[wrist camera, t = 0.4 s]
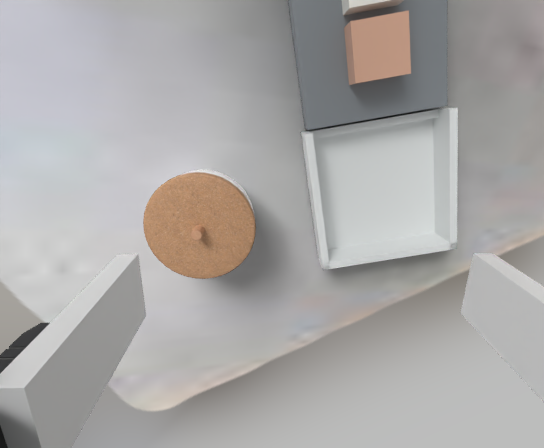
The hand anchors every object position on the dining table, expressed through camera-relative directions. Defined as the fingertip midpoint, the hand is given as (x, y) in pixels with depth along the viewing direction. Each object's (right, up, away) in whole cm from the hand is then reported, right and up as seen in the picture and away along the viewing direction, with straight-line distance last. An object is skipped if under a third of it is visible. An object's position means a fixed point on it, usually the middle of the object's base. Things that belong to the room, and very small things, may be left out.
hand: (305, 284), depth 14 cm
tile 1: (+8, +19, +19) cm, 28 cm away
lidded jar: (-8, +4, +27) cm, 28 cm away
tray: (+10, +7, +26) cm, 29 cm away
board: (+8, +21, +21) cm, 31 cm away
